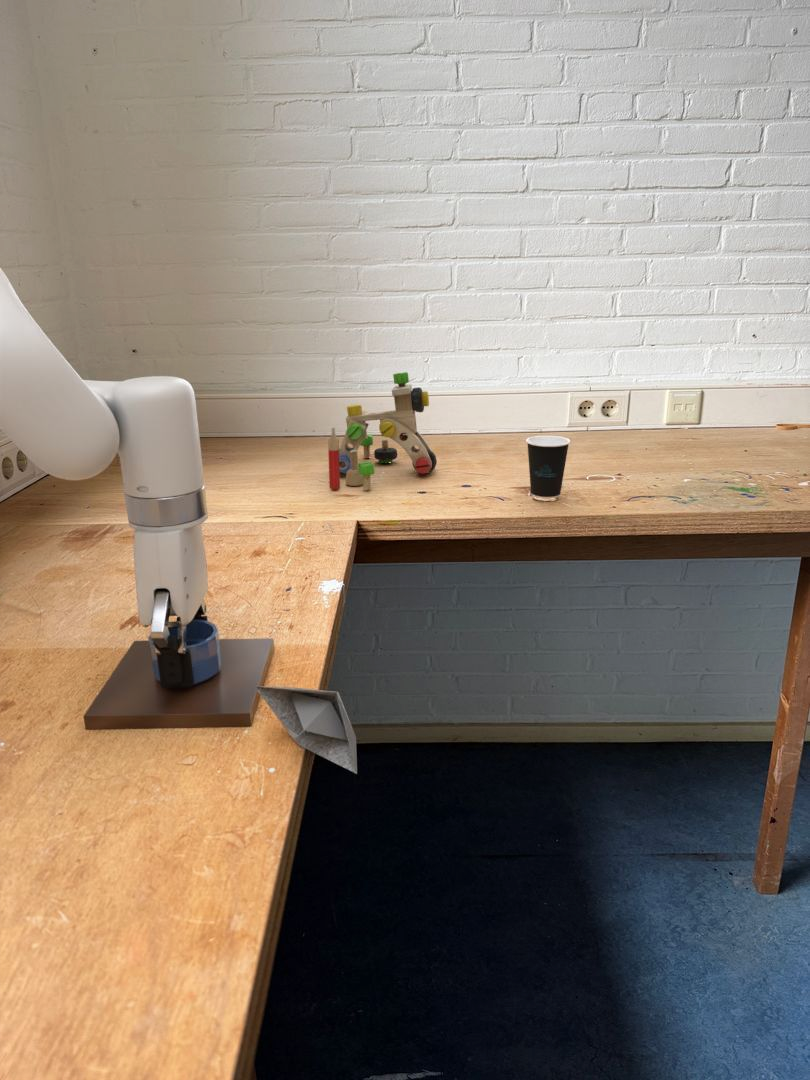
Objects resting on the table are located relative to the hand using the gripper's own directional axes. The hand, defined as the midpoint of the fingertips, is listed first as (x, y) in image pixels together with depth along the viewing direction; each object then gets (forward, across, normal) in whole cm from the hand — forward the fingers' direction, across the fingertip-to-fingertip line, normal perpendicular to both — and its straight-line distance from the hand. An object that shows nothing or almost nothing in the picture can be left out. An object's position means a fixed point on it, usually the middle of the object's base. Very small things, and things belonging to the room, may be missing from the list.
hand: (187, 666), depth 84 cm
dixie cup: (+3, -67, +50) cm, 84 cm away
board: (+2, 0, 0) cm, 2 cm away
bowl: (+1, 0, 0) cm, 1 cm away
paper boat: (+3, +12, +14) cm, 19 cm away
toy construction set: (+3, -85, +18) cm, 87 cm away
